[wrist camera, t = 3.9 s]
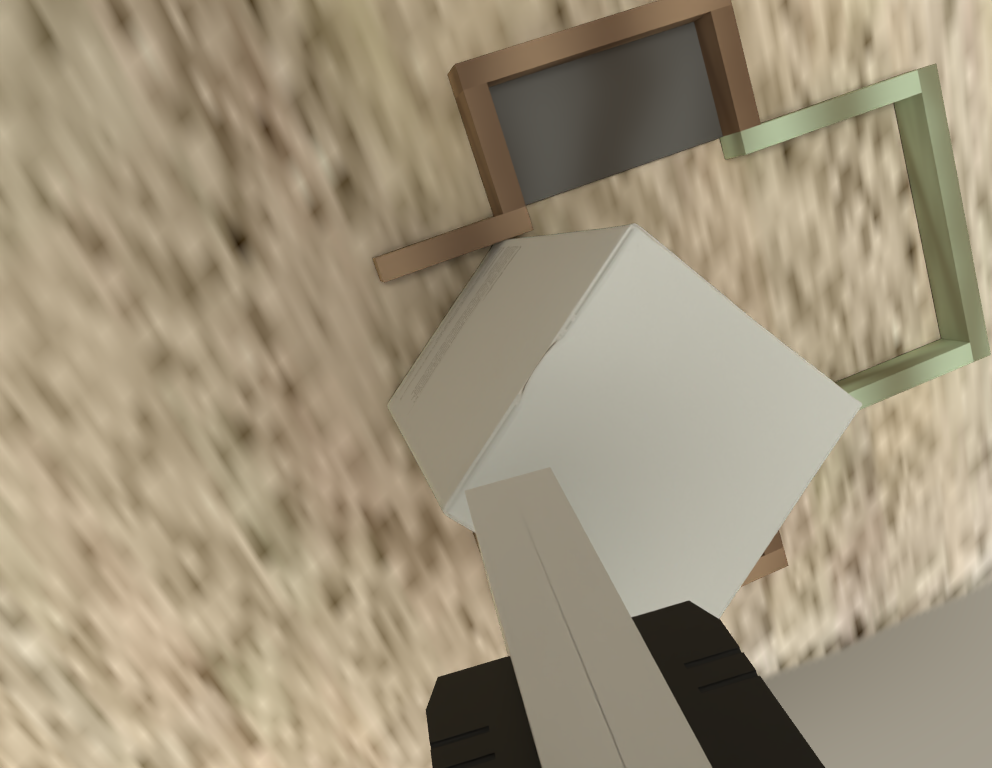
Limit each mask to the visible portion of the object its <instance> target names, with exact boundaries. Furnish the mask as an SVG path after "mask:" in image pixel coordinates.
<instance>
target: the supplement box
mask: <svg viewBox="0 0 992 768" xmlns="http://www.w3.org/2000/svg"><path fill="white" fill-rule="evenodd" d="M861 406H862V403H861V402H860V401H858V400H857V399H855V398H853V397H852V396H851V395H850V394H848V393H847V392H846V391H845V390H843V389H842V388H841V387H839V386H838V385H837V384H836V383H834V382H833V381H832V380H831V379H829V378H828V377H827V376H826V375H824V374H823V373H822V372H820V371H819V370H818V369H817V368H815V367H814V366H813V365H811V364H810V363H808V362H807V361H806V360H805V359H804V358H802V357H801V356H800V355H798V354H797V353H796V352H794V351H793V350H792V349H790V348H789V347H788V346H786V345H785V344H784V343H783V342H781V341H780V340H779V339H778V338H776V337H775V336H774V335H773V334H771V333H770V332H769V331H767V330H766V329H765V328H763V327H762V326H761V325H760V324H758V323H757V322H756V321H755V320H753V319H752V318H751V317H750V316H748V315H747V314H746V313H745V312H743V311H742V310H741V309H740V308H739V307H737V306H736V305H735V304H734V303H733V302H731V301H730V300H729V299H728V298H727V297H726V296H724V295H723V294H722V293H721V292H720V291H719V290H717V289H716V288H715V287H714V286H712V285H711V284H710V283H709V282H707V281H706V280H705V279H704V278H703V277H701V276H700V275H699V274H698V273H696V272H695V271H694V270H693V269H692V268H690V267H689V266H688V265H687V264H686V263H684V262H683V261H682V260H681V259H680V258H678V257H677V256H676V255H675V254H674V253H672V252H671V251H670V250H669V249H668V248H666V247H665V246H664V245H663V244H661V243H660V242H659V241H658V240H656V239H655V238H654V237H653V236H652V235H650V234H649V233H648V232H647V231H645V230H644V229H643V228H642V227H640V226H639V225H637V224H636V223H633V224H628V225H624V226H617V227H610V228H602V229H594V230H585V231H576V232H568V233H559V234H551V235H542V236H533V237H523V238H516V239H506V240H503V241H500V242H498V243H495V244H493V246H492V247H491V249H490V250H489V252H488V253H487V255H486V256H485V258H484V259H483V261H482V262H481V264H480V265H479V267H478V268H477V270H476V271H475V273H474V274H473V276H472V277H471V279H470V280H469V282H468V283H467V285H466V286H465V288H464V289H463V291H462V292H461V294H460V295H459V297H458V298H457V300H456V301H455V303H454V304H453V306H452V307H451V309H450V310H449V312H448V313H447V315H446V316H445V318H444V319H443V321H442V322H441V324H440V325H439V327H438V328H437V330H436V331H435V333H434V334H433V336H432V337H431V339H430V340H429V342H428V343H427V345H426V346H425V348H424V349H423V351H422V352H421V354H420V355H419V357H418V358H417V360H416V361H415V363H414V364H413V366H412V367H411V369H410V370H409V372H408V373H407V375H406V376H405V378H404V379H403V381H402V383H401V384H400V386H399V387H398V389H397V390H396V392H395V393H394V395H393V396H392V398H391V399H390V401H389V403H388V405H387V407H388V409H389V411H390V413H391V415H392V416H393V419H394V420H395V422H396V424H397V426H398V428H399V430H400V432H401V434H402V436H403V437H404V439H405V441H406V443H407V445H408V447H409V449H410V450H411V452H412V454H413V456H414V458H415V460H416V462H417V463H418V465H419V467H420V469H421V471H422V473H423V475H424V476H425V478H426V480H427V482H428V484H429V486H430V488H431V490H432V492H433V494H434V496H435V498H436V499H437V501H438V503H439V505H440V507H441V509H442V511H443V513H444V514H445V515H446V516H447V517H449V518H451V519H452V520H454V521H456V522H457V523H459V524H461V525H462V526H464V527H466V528H468V529H469V530H471V531H473V532H474V533H475V529H474V526H473V522H472V518H471V514H470V510H469V507H468V503H467V499H466V495H465V490H468V489H472V488H476V487H479V486H483V485H486V484H490V483H494V482H497V481H501V480H505V479H508V478H512V477H515V476H519V475H523V474H526V473H530V472H534V471H537V470H541V469H544V468H548V467H551V469H552V471H553V473H554V475H555V477H556V479H557V480H558V482H559V484H560V486H561V488H562V490H563V492H564V493H565V495H566V497H567V499H568V501H569V503H570V505H571V506H572V508H573V510H574V512H575V514H576V516H577V518H578V519H579V521H580V523H581V525H582V527H583V529H584V531H585V532H586V534H587V536H588V538H589V540H590V542H591V544H592V545H593V547H594V549H595V551H596V553H597V555H598V557H599V558H600V560H601V562H602V564H603V566H604V568H605V570H606V571H607V573H608V575H609V577H610V579H611V581H612V583H613V584H614V586H615V588H616V590H617V592H618V594H619V595H620V597H621V599H622V601H623V603H624V605H625V607H626V608H627V610H628V612H629V614H630V616H631V617H634V616H638V615H641V614H644V613H648V612H651V611H655V610H658V609H661V608H665V607H668V606H672V605H675V604H678V603H682V602H685V601H688V600H689V601H691V602H692V603H694V604H696V605H697V606H699V607H701V608H702V609H704V610H705V611H707V612H709V613H710V614H712V615H714V616H715V617H717V618H718V619H720V617H721V616H722V614H723V613H724V611H725V610H726V608H727V607H728V605H729V604H730V602H731V601H732V599H733V597H734V596H735V594H736V593H737V591H738V590H739V588H740V587H741V585H742V584H743V583H744V581H745V580H746V578H747V577H748V575H749V574H750V572H751V571H752V569H753V568H754V566H755V565H756V563H757V562H758V560H759V559H760V557H761V556H762V554H763V553H764V551H765V550H766V548H767V547H768V545H769V544H770V542H771V541H772V539H773V538H774V536H775V535H776V533H777V532H778V530H779V529H780V527H781V525H782V524H783V522H784V521H785V519H786V518H787V516H788V515H789V513H790V512H791V510H792V509H793V507H794V506H795V504H796V503H797V501H798V500H799V498H800V497H801V495H802V494H803V492H804V491H805V489H806V488H807V486H808V485H809V483H810V482H811V480H812V479H813V477H814V476H815V474H816V473H817V471H818V470H819V468H820V467H821V465H822V464H823V462H824V461H825V459H826V458H827V456H828V455H829V453H830V452H831V450H832V449H833V448H834V446H835V445H836V443H837V442H838V440H839V439H840V437H841V436H842V434H843V433H844V431H845V430H846V428H847V427H848V425H849V424H850V422H851V421H852V419H853V418H854V416H855V415H856V413H857V412H858V410H859V409H860V408H861Z"/></svg>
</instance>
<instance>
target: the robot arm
mask: <svg viewBox="0 0 992 768" xmlns="http://www.w3.org/2000/svg"><path fill="white" fill-rule="evenodd" d="M465 495H466V499H467V503H468V507H469V510H470V514H471V518H472V522H473V526H474V529H475V533H476V537H477V541H478V545H479V549H480V552H481V556H482V560H483V564H484V568H485V572H486V575H487V579H488V583H489V587H490V591H491V594H492V598H493V602H494V606H495V610H496V614H497V617H498V621H499V625H500V628H501V632H502V636H503V639H504V643H505V646H506V650H507V654H508V657H504V658H501V659H498V660H494V661H491V662H487V663H484V664H481V665H477V666H474V667H471V668H467V669H464V670H460V671H457V672H454V673H450V674H447V675H444V676H440V677H438V678H437V681H436V684H435V686H434V689H433V692H432V695H431V697H430V700H429V703H428V706H427V708H426V715H427V723H428V732H429V740H430V746H431V757H432V766H433V768H825V767H824V766H823V764H822V763H821V761H820V760H819V759H818V757H817V756H816V754H815V753H814V751H813V750H812V749H811V747H810V746H809V745H808V743H807V742H806V740H805V739H804V738H803V736H802V735H801V733H800V732H799V730H798V729H797V727H796V726H795V725H794V723H793V722H792V720H791V719H790V718H789V716H788V715H787V713H786V712H785V711H784V709H783V708H782V706H781V705H780V703H779V702H778V701H777V699H776V698H775V697H774V695H773V694H772V692H771V691H770V689H769V688H768V687H767V685H766V684H765V682H764V681H763V680H762V678H761V677H760V676H758V675H757V673H756V670H755V668H754V667H753V665H752V664H751V663H750V661H749V660H748V658H747V657H746V656H745V654H744V653H741V651H740V648H739V646H738V644H737V643H736V641H735V640H734V639H733V637H732V636H731V634H730V633H729V632H728V630H727V629H726V627H725V626H724V625H723V623H722V622H721V620H720V619H718V618H717V617H715V616H714V615H712V614H710V613H709V612H707V611H705V610H704V609H702V608H701V607H699V606H697V605H696V604H694V603H692V602H691V601H689V600H688V601H685V602H682V603H678V604H675V605H672V606H668V607H665V608H661V609H658V610H655V611H651V612H648V613H644V614H641V615H638V616H634V617H631V616H630V614H629V612H628V610H627V608H626V607H625V605H624V603H623V601H622V599H621V597H620V595H619V594H618V592H617V590H616V588H615V586H614V584H613V583H612V581H611V579H610V577H609V575H608V573H607V571H606V570H605V568H604V566H603V564H602V562H601V560H600V558H599V557H598V555H597V553H596V551H595V549H594V547H593V545H592V544H591V542H590V540H589V538H588V536H587V534H586V532H585V531H584V529H583V527H582V525H581V523H580V521H579V519H578V518H577V516H576V514H575V512H574V510H573V508H572V506H571V505H570V503H569V501H568V499H567V497H566V495H565V493H564V492H563V490H562V488H561V486H560V484H559V482H558V480H557V479H556V477H555V475H554V473H553V471H552V469H551V467H548V468H544V469H541V470H537V471H534V472H530V473H526V474H523V475H519V476H515V477H512V478H508V479H505V480H501V481H497V482H494V483H490V484H486V485H483V486H479V487H476V488H472V489H468V490H465Z"/></svg>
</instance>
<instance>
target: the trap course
mask: <svg viewBox="0 0 992 768" xmlns="http://www.w3.org/2000/svg"><path fill="white" fill-rule="evenodd" d="M448 77H449V81H450V84H451V87H452V90H453V93H454V96H455V99H456V102H457V105H458V108H459V111H460V114H461V117H462V120H463V123H464V126H465V129H466V133H467V136H468V139H469V142H470V145H471V148H472V151H473V154H474V157H475V160H476V163H477V166H478V169H479V172H480V175H481V178H482V182H483V185H484V188H485V191H486V194H487V197H488V200H489V203H490V206H491V209H492V212H493V215H494V216H493V217H490V218H487V219H484V220H481V221H478V222H475V223H472V224H470V225H467V226H464V227H461V228H458V229H455V230H452V231H449V232H447V233H444V234H441V235H438V236H435V237H432V238H429V239H426V240H424V241H421V242H418V243H415V244H412V245H409V246H406V247H403V248H401V249H398V250H395V251H392V252H389V253H386V254H383V255H380V256H378V257H375V258H372V259H373V262H374V265H375V267H376V270H377V273H378V276H379V278H380V281H381V282H387V281H390V280H393V279H396V278H399V277H401V276H404V275H407V274H410V273H413V272H416V271H418V270H421V269H424V268H427V267H430V266H432V265H435V264H438V263H441V262H444V261H447V260H449V259H452V258H455V257H458V256H461V255H464V254H466V253H469V252H472V251H475V250H478V249H481V248H483V247H486V246H489V245H492V244H495V243H498V242H500V241H503V240H506V239H509V238H512V237H515V236H517V235H520V234H523V233H526V232H529V231H532V230H533V227H532V224H531V220H530V217H529V214H528V211H527V208H526V205H528V204H531V203H533V202H536V201H539V200H542V199H545V198H548V197H551V196H554V195H556V194H559V193H562V192H565V191H568V190H571V189H574V188H577V187H579V186H582V185H585V184H588V183H591V182H594V181H597V180H600V179H603V178H605V177H608V176H611V175H614V174H617V173H620V172H623V171H626V170H628V169H631V168H634V167H637V166H640V165H643V164H646V163H649V162H651V161H654V160H657V159H660V158H663V157H666V156H669V155H672V154H674V153H677V152H680V151H683V150H686V149H689V148H692V147H695V146H697V145H700V144H703V143H706V142H709V141H712V140H715V139H718V138H720V141H721V145H722V149H723V153H724V157H725V159H730V158H734V157H738V156H742V155H747V154H749V153H752V152H755V151H758V150H761V149H764V148H766V147H769V146H772V145H775V144H778V143H781V142H783V141H786V140H789V139H792V138H795V137H797V136H800V135H803V134H806V133H809V132H812V131H814V130H817V129H820V128H823V127H826V126H829V125H831V124H834V123H837V122H840V121H843V120H846V119H848V118H851V117H854V116H857V115H860V114H863V113H865V112H868V111H871V110H874V109H877V108H880V107H882V106H885V105H888V104H891V103H894V106H895V111H896V116H897V121H898V126H899V131H900V136H901V141H902V146H903V151H904V156H905V161H906V166H907V171H908V176H909V181H910V186H911V190H912V195H913V200H914V205H915V210H916V215H917V220H918V225H919V230H920V235H921V240H922V245H923V250H924V255H925V260H926V265H927V270H928V275H929V280H930V285H931V290H932V295H933V300H934V305H935V310H936V315H937V320H938V325H939V330H940V335H941V339H940V340H937V341H935V342H932V343H930V344H927V345H925V346H923V347H920V348H918V349H915V350H913V351H911V352H908V353H906V354H903V355H901V356H898V357H896V358H894V359H891V360H889V361H886V362H884V363H881V364H879V365H877V366H874V367H872V368H869V369H867V370H864V371H862V372H860V373H857V374H855V375H852V376H850V377H847V378H845V379H843V380H840V381H838V382H835V383H836V384H837V385H838V386H839V387H841V388H842V389H843V390H845V391H846V392H847V393H848V394H850V395H851V396H852V397H853V398H855V399H857V400H858V401H860V402H861V403H862V406H861V408H860V409H859V410H861V409H863V408H865V407H868V406H870V405H872V404H875V403H877V402H880V401H882V400H884V399H887V398H889V397H891V396H894V395H896V394H899V393H901V392H903V391H906V390H908V389H910V388H913V387H915V386H918V385H920V384H922V383H925V382H927V381H929V380H932V379H934V378H937V377H939V376H941V375H944V374H946V373H949V372H951V371H953V370H956V369H958V368H960V367H963V366H965V365H968V364H970V363H972V362H975V361H977V360H979V359H982V358H984V357H987V356H989V355H991V353H990V348H989V343H988V337H987V332H986V327H985V321H984V316H983V311H982V305H981V300H980V295H979V289H978V284H977V279H976V273H975V268H974V263H973V257H972V252H971V246H970V241H969V236H968V230H967V225H966V220H965V214H964V209H963V204H962V198H961V193H960V188H959V182H958V177H957V172H956V166H955V161H954V156H953V150H952V145H951V139H950V134H949V129H948V123H947V118H946V113H945V107H944V102H943V97H942V91H941V86H940V81H939V75H938V70H937V65H936V64H933V65H930V66H926V67H923V68H920V69H917V70H913V71H910V72H907V73H904V74H901V75H898V76H895V77H893V78H890V79H887V80H884V81H881V82H878V83H875V84H872V85H870V86H867V87H864V88H861V89H858V90H855V91H852V92H849V93H847V94H844V95H841V96H838V97H835V98H832V99H829V100H826V101H823V102H821V103H818V104H815V105H812V106H809V107H806V108H803V109H800V110H798V111H795V112H792V113H789V114H786V115H783V116H780V117H777V118H775V119H772V120H769V121H766V122H763V123H760V119H759V115H758V111H757V106H756V102H755V98H754V94H753V90H752V86H751V81H750V77H749V73H748V69H747V65H746V61H745V57H744V52H743V48H742V44H741V40H740V36H739V32H738V28H737V23H736V19H735V15H734V11H733V7H732V3H731V0H659V1H655V2H652V3H649V4H646V5H643V6H639V7H636V8H633V9H630V10H627V11H623V12H620V13H617V14H614V15H611V16H608V17H604V18H601V19H598V20H595V21H592V22H588V23H585V24H582V25H579V26H576V27H572V28H569V29H566V30H563V31H560V32H556V33H553V34H550V35H547V36H544V37H540V38H537V39H534V40H531V41H528V42H524V43H521V44H518V45H515V46H512V47H508V48H505V49H502V50H499V51H496V52H492V53H489V54H486V55H483V56H480V57H477V58H473V59H470V60H467V61H464V62H461V63H457V64H455V65H454V66H453V68H452V69H451V70H450V72H449V73H448ZM473 534H474V537H475V540H476V542H477V545H478V541H477V537H476V533H474V532H473ZM478 548H479V545H478ZM479 551H480V549H479ZM480 553H481V552H480ZM786 566H788V563H787V559H786V555H785V551H784V548H783V544H782V540H781V536H780V533H779V530H778V532H777V533H776V535H775V536H774V538H773V539H772V541H771V542H770V544H769V545H768V547H767V548H766V550H765V551H764V553H763V554H762V556H761V557H760V559H759V560H758V562H757V563H756V565H755V566H754V568H753V569H752V571H751V572H750V574H749V575H748V577H747V578H746V580H745V581H744V583H743V584H742V585H741V587H742V586H744V585H746V584H748V583H751V582H753V581H755V580H757V579H759V578H762V577H764V576H766V575H768V574H771V573H773V572H775V571H777V570H780V569H782V568H784V567H786Z"/></svg>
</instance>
